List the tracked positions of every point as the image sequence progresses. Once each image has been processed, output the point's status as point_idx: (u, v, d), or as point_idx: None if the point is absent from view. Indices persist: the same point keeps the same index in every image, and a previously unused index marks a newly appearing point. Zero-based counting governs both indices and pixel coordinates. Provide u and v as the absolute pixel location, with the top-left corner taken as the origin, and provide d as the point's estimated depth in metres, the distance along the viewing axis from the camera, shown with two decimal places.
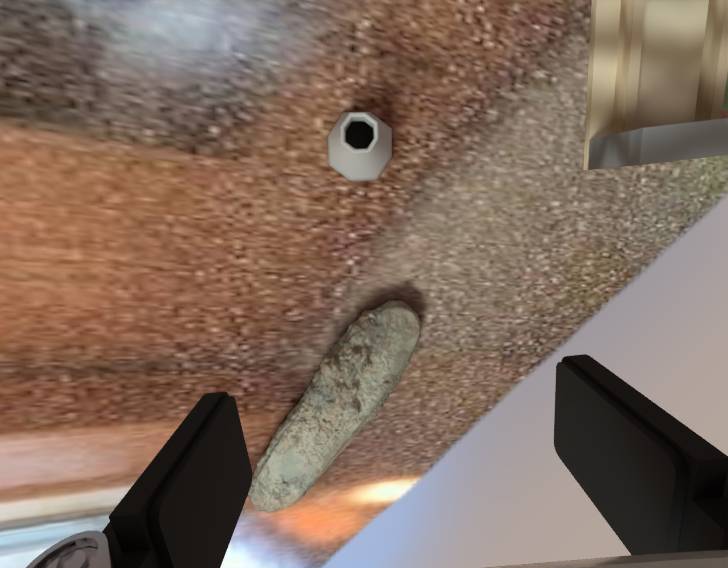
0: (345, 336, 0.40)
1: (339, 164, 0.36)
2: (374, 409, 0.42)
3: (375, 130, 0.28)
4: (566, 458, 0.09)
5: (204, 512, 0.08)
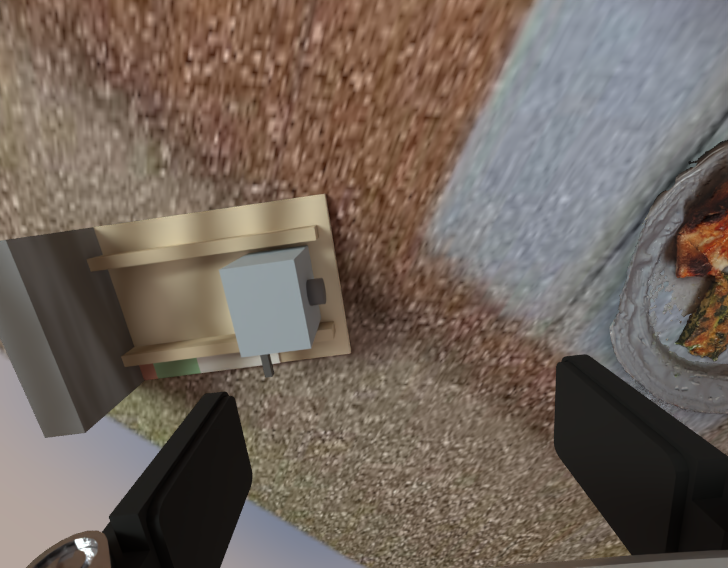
0: None
1: None
2: None
3: None
4: (566, 458, 0.09)
5: (204, 512, 0.08)
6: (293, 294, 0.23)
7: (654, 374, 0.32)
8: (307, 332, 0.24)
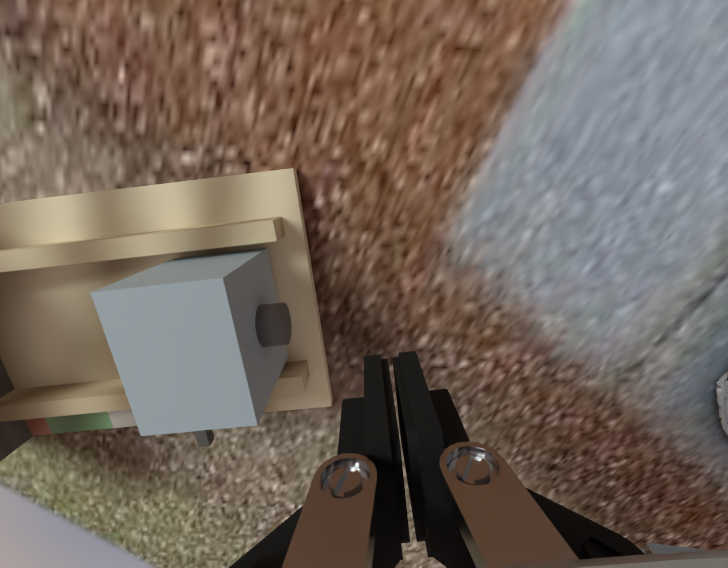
0: None
1: None
2: None
3: None
4: None
5: None
6: (224, 337, 0.13)
7: None
8: (250, 399, 0.14)
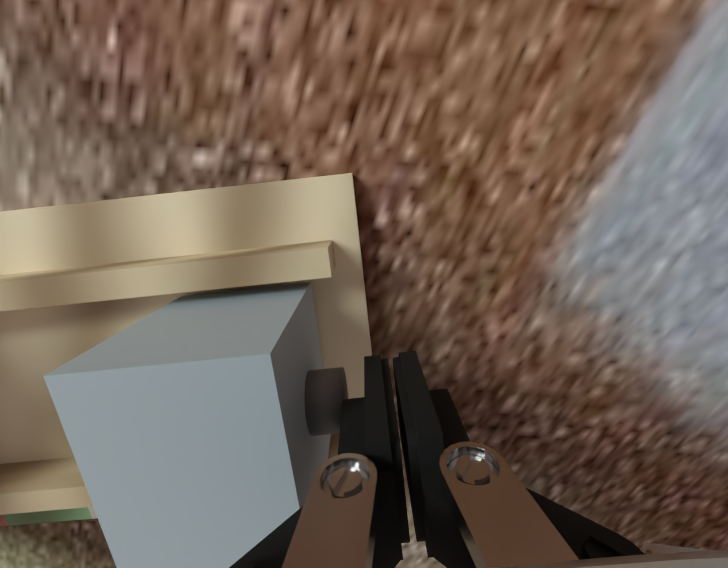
0: None
1: None
2: None
3: None
4: (401, 442, 0.11)
5: None
6: (267, 446, 0.08)
7: None
8: None
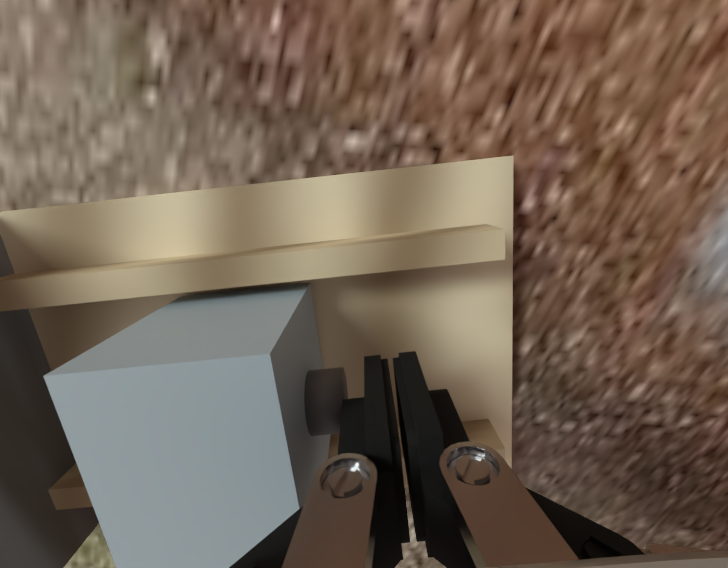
0: None
1: None
2: None
3: None
4: (401, 442, 0.11)
5: None
6: (267, 446, 0.08)
7: None
8: None
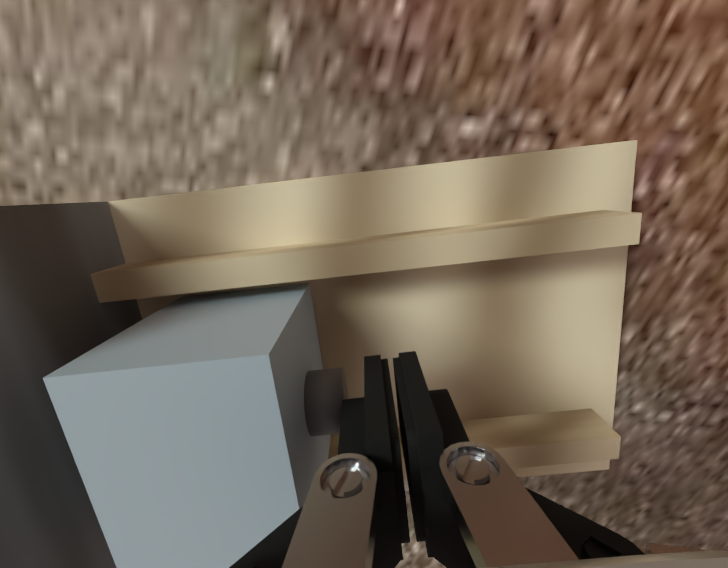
0: None
1: None
2: None
3: None
4: (401, 442, 0.11)
5: None
6: (267, 447, 0.08)
7: None
8: None
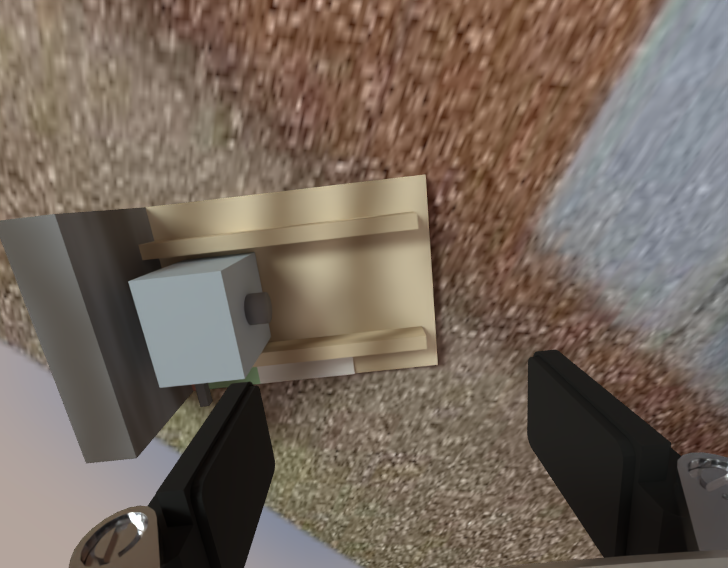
0: None
1: None
2: None
3: None
4: (537, 449, 0.10)
5: (237, 493, 0.08)
6: (221, 313, 0.19)
7: None
8: (239, 359, 0.20)
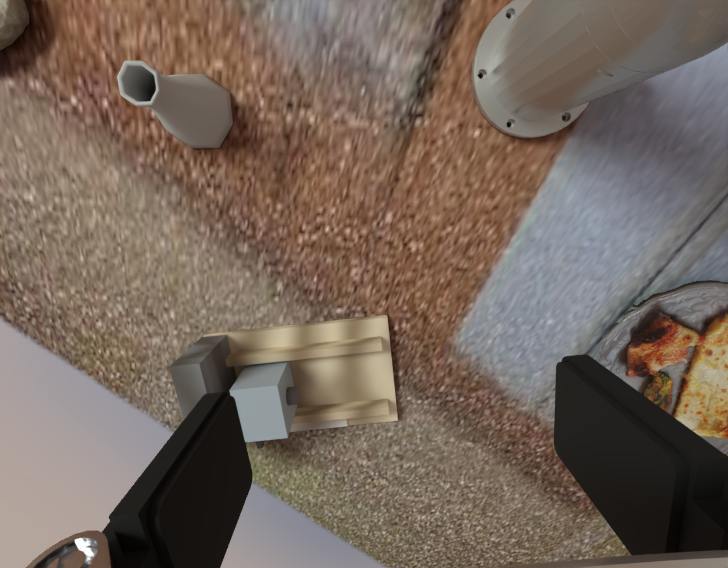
0: None
1: None
2: None
3: (143, 102, 0.26)
4: (566, 458, 0.09)
5: (204, 512, 0.08)
6: (276, 405, 0.36)
7: None
8: (285, 428, 0.37)
